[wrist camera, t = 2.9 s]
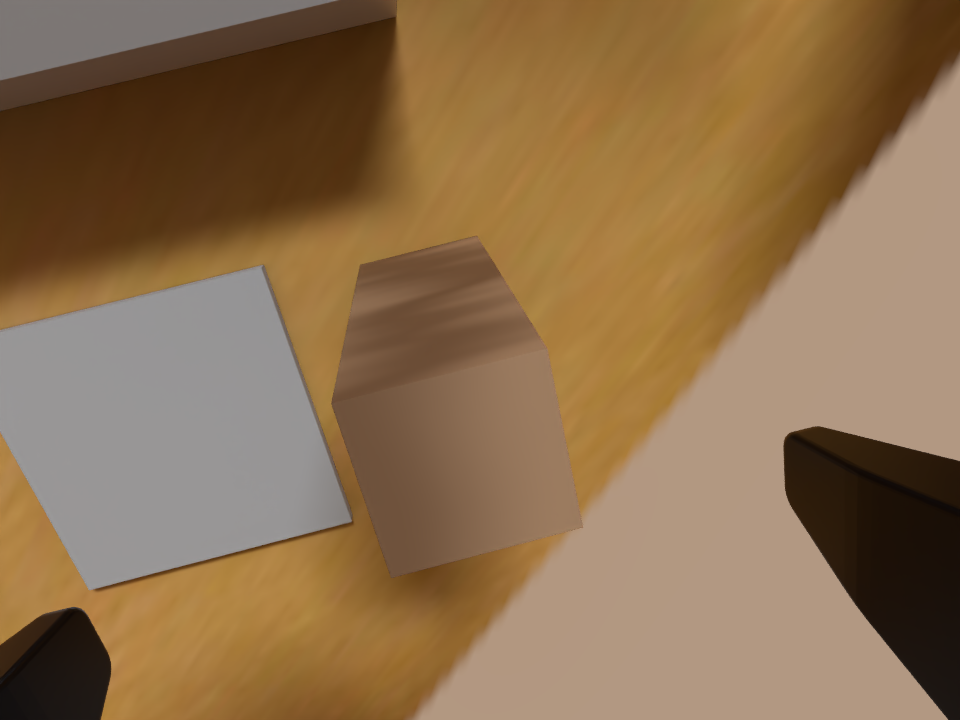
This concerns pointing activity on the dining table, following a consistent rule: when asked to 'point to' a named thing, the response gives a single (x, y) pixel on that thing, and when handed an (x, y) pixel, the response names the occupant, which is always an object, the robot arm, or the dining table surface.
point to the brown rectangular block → (450, 411)
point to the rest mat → (168, 428)
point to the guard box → (149, 37)
